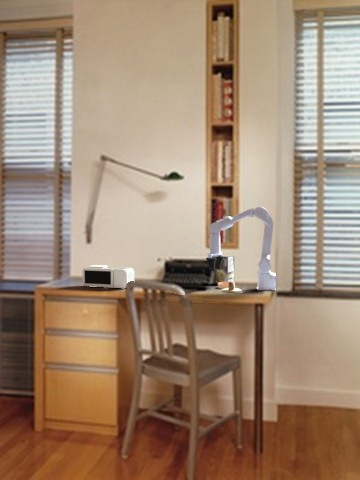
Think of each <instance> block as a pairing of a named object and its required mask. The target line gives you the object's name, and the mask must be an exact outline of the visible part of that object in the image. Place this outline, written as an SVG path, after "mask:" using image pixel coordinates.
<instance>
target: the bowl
mask: <svg viewBox="0 0 360 480" xmlns="http://www.w3.org/2000/svg"><path fill="white" fill-rule="evenodd" d="M225 288H229V282H219V283H218V284H217V289H220V290H222V289H225ZM234 288H236V283H235V282H234Z"/></svg>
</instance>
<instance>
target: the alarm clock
mask: <svg viewBox="0 0 360 480" xmlns="http://www.w3.org/2000/svg"><path fill="white" fill-rule="evenodd" d="M81 272H82V273H81V275H82V280H81V281H82V284H83V286H86V287H88V286H97V287H109V288H121V289H120V290H125V289H124V288H125V286H126V284H127V283H128V282H130V281H134V282H135V270H134V268H133V267H126V266H125V267H124V266H123V267H122V266H108V265H99V264H98V265H97V264H95V265H93V264H92V265H88V267H84V268H83V269H82V271H81Z"/></svg>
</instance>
